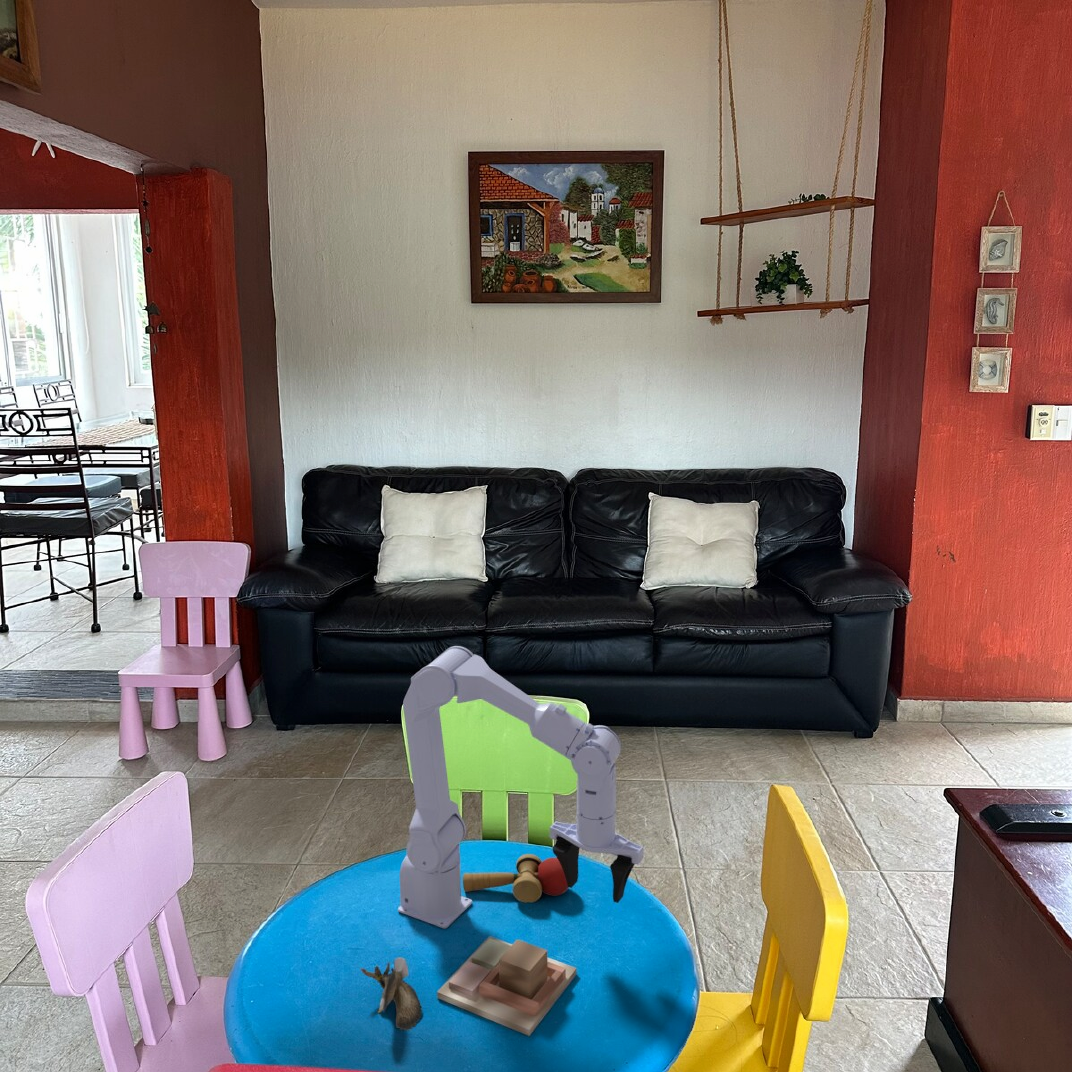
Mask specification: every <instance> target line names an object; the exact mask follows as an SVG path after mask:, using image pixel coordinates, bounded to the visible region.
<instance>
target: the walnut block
mask: <svg viewBox="0 0 1072 1072" xmlns="http://www.w3.org/2000/svg"><path fill="white" fill-rule="evenodd" d="M511 944H512V946H511V947H510V948H509V949H508V950H507V951H506V952H505V953H504V954H503V955H502V956H501V958H500V959H499V987H500V988H503V989H505V990H508V991H510V992H513V993H515V994H518V995H520V996H523V997H525V998H528V999H531V1000H532V999H533V998H534V996H535V995H536V994H537V993H538V992H539V990H540V989H541V988H542V987H543V985H544V984H545V983H546V982H547V981H548V980H547V957H548V949H544V948H543V947H542V948H541V947H539V946H537V945H534V944H531V943H530V942H529V943H528V942H527V941H524V940H521V939H515V941H514V942H513V943H511Z"/></svg>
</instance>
